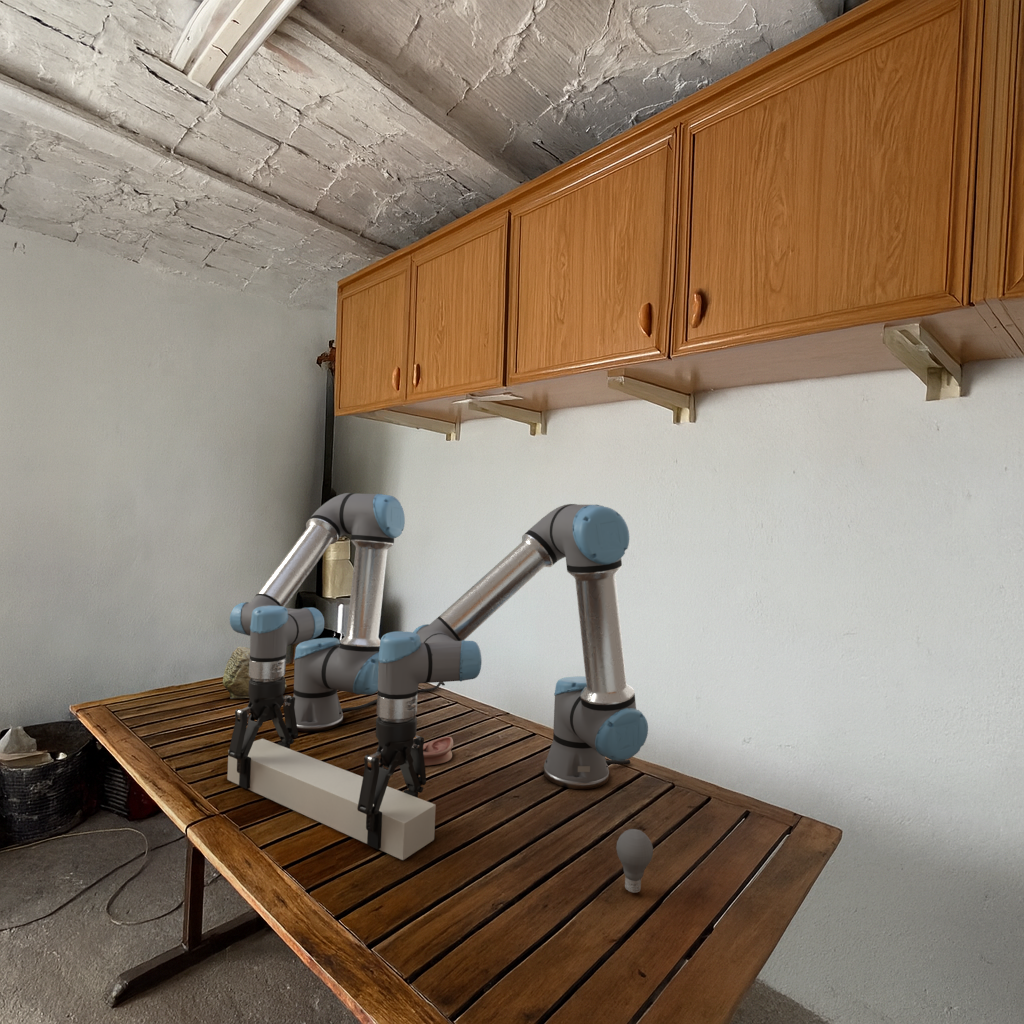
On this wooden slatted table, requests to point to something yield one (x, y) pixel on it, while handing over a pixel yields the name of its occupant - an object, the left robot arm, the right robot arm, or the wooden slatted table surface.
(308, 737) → the wooden slatted table surface
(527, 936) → the wooden slatted table surface
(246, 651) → the fossil
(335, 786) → the thick board
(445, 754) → the anatomical model
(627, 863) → the light bulb
